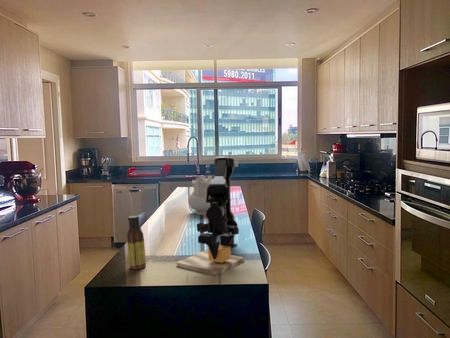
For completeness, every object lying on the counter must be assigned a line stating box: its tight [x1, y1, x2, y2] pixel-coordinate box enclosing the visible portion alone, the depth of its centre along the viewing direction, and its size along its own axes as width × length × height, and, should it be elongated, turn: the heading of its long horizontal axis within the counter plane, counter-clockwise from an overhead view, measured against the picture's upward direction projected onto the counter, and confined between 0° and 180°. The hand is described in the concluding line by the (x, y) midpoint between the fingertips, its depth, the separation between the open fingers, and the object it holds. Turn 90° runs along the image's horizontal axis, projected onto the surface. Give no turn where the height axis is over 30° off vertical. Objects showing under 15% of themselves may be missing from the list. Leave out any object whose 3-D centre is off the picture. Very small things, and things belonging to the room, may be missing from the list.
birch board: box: [176, 249, 245, 276], centre depth 142 cm, size 18×19×5 cm
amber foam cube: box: [208, 244, 232, 263], centre depth 139 cm, size 6×6×4 cm
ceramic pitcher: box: [187, 175, 213, 216], centre depth 238 cm, size 22×20×25 cm
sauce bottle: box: [126, 215, 147, 271], centre depth 139 cm, size 7×6×20 cm
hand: (219, 256), depth 139 cm, fingers closed on amber foam cube, 6 cm apart
